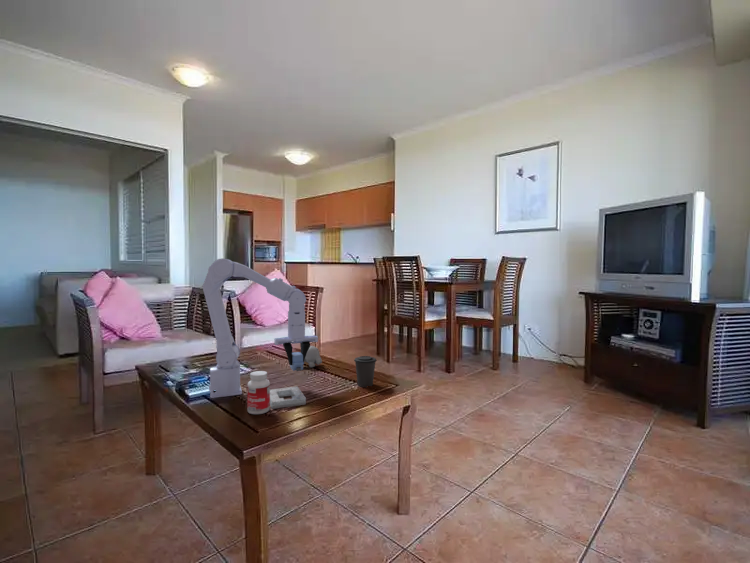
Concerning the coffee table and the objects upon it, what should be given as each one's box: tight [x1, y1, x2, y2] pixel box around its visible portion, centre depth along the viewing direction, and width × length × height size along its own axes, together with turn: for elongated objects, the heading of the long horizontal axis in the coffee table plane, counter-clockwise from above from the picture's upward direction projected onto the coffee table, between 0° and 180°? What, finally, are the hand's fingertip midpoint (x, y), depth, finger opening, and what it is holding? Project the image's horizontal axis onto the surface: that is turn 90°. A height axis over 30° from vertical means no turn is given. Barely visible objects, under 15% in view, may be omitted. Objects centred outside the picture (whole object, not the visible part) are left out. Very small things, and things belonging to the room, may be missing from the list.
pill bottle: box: [246, 370, 271, 415], centre depth 109 cm, size 6×6×11 cm
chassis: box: [270, 385, 307, 410], centre depth 118 cm, size 10×12×2 cm
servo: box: [289, 351, 305, 372], centre depth 129 cm, size 8×3×5 cm, turn 24°
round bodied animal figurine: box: [304, 345, 323, 369], centre depth 158 cm, size 7×12×8 cm, turn 99°
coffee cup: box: [353, 355, 377, 388], centre depth 134 cm, size 8×8×10 cm
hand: (296, 364), depth 129 cm, fingers closed on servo, 3 cm apart
